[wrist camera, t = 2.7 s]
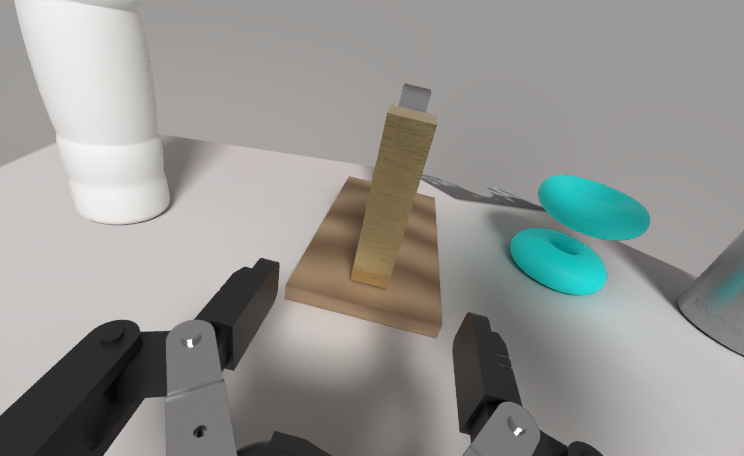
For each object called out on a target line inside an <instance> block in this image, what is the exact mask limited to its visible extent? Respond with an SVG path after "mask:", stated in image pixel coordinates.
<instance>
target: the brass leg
mask: <svg viewBox="0 0 744 456" xmlns="http://www.w3.org/2000/svg"><path fill="white" fill-rule="evenodd" d="M436 127H437V122H436V115H432V114H428V113H424V112H420V111H416V110H412V109H407V108H403V107H399V106H395V105H391V107H390V109H389V111H388V113H387V116H386V121H385V126H384V130H383V135H382V139H381V144H380V148H379V153H378V158H377V162H376V166H375V171H374V175H373V180H372V184H371V189H370V193H369V198H368V202H367V207H366V211H365V216H364V220H363V225H362V230H361V234H360V239H359V243H358V248H357V252H356V257H355V261H354V266H353V270H352V275H351V279H350V280H354V281H358V282H362V283H366V284H370V285H374V286H378V287H381V288H385V289H387V287H388V284H389V281H390V278H391V274H392V271H393V268H394V264H395V261H396V258H397V255H398V251H399V248H400V245H401V241H402V238H403V235H404V232H405V228H406V225H407V222H408V219H409V215H410V212H411V209H412V205H413V202H414V199H415V196H416V192H417V189H418V186H419V182H420V179H421V176H422V173H423V169H424V166H425V163H426V159H427V156H428V153H429V150H430V146H431V143H432V140H433V137H434V133H435V130H436Z"/></svg>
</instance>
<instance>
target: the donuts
mask: <svg viewBox="0 0 744 456" xmlns="http://www.w3.org/2000/svg"><path fill="white" fill-rule="evenodd" d="M538 197H539V201H540V203H541V205H542V206H543V208H544V209H545V210H546V211H547V212H548V213H549V214H550V215H551V216H552V217H553V218H555V219H556V220H557V221H559V222H560V223H562V224H564V225H566V226H567V227H569V228H571V229H573V230H576V231H578V232H580V233H583V234H586V235H589V236H592V237H596V238H600V239H605V240H615V241H620V240H629V239H633V238H636V237H638V236H640V235H642V234H643V233H644V232H645V231H646V230H647V229H648V227H649V224H650V216H649V214H648V212H647V210H646V209H645V208H644V207H643V206H642V205H641V204H640V203H639V202H637V201H636V200H634V199H633V198H631V197H629V196H627V195H626V194H624V193H621V192H620V191H617V190H615V189H613V188H610V187H608V186H606V185H603V184H600V183H597V182H594V181H591V180H588V179H584V178H580V177H575V176H569V175H556V176H552V177H549V178H548V179H546V180H545V181H544V182H543V183H542V184H541V186H540V187H539V191H538ZM510 250H511V255H512V257H513V259H514V261H515V262H516V263H517V265H518V266H519V267H520V268H521V269H522V270H523V271H524V272H525V273H526V274H528V275H529V276H530V277H532V278H533V279H534V280H536V281H538V282H539V283H541V284H543V285H545V286H547V287H549V288H551V289H554V290H557V291H560V292H563V293H567V294H572V295H589V294H592V293H595V292H597V291H599V290H600V289H601V288H602V287H603V286H604V285H605V282H606V279H607V272H606V268H605V266H604V264H603V262H602V260H601V259H600V257H599V256H598V255H597V254H596V253H595V252H594V251H593V250H592V249H590V248H589V247H588V246H587V245H585V244H584V243H582V242H580V241H579V240H577V239H575V238H573V237H571V236H569V235H567V234H564V233H561V232H558V231H555V230H551V229H545V228H530V229H525V230H523V231H521V232H519V233H518V234H516V235H515V236H514V238H513V239H512V241H511V245H510Z"/></svg>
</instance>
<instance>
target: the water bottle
mask: <svg viewBox="0 0 744 456" xmlns="http://www.w3.org/2000/svg"><path fill="white" fill-rule="evenodd" d="M14 1H15V6H16V11H17V15H18V20H19V23H20V27H21V31H22V35H23V39H24V42H25V46H26V49H27V52H28V56H29V59H30V63H31V66H32V69H33V72H34V75H35V78H36V81H37V85H38V87H39V90H40V93H41V96H42V99H43V101H44V104H45V107H46V110H47V112H48V115H49V117H50V119H51V122H52V124H53V126H54V128H55V130H56V142H57V148H58V152H59V155H60V158H61V161H62V163H63V166H64V168H65V169H66V171H67V173H68V176H69V184H70V190H71V194H72V198H73V201H74V204H75V207H76V209H77V211H78V212H79V214H80V215H82V216H83V217H85V218H87V219H89V220H91V221H94V222H98V223H103V224H111V225H124V224H133V223H138V222H142V221H146V220H149V219H151V218H154V217H156V216H157V215H159V214H161V213H162V212H163V211H164V210H165V209H166V208H167V207H168V205H169V202H170V196H169V189H168V184H167V179H166V176H165V173H164V155H163V148H162V143H161V140H160V137H159V135H158V133H157V110H156V99H155V90H154V83H153V75H152V68H151V62H150V56H149V50H148V45H147V39H146V35H145V30H144V26H143V22H142V18H141V14H140V10H141V6H142V0H14Z"/></svg>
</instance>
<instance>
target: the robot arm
mask: <svg viewBox="0 0 744 456" xmlns="http://www.w3.org/2000/svg"><path fill="white" fill-rule="evenodd" d="M279 266H280V265H279V262H275V261H272V260H268V259H264V258H260V259H259V260H258V261H257V263H256V264H255V265H254V267H253V268H248V267H243V268H241V269H240V270H238V271H236V272H234V273H233V274H232V275H231V276H230V278H229V279H228V280H227V281H226V283H225V284H224V285H223V286H222V287H221V288H220V290H219V291H218V292H217V293H216V294H215V295H214V297H213V298H212V299H211V300H210V301H209V302H208V304H207V305H206V306H205V307H204V308H203V310H202V311H201V312H200V313H199V314H198V315H197V317H196V318H195V319H194V320H190V321H186V322H183V323H181V324H179V325H177V326H176V327H174V328H173V329H172V330H171V331H154V332H140V329H139V326H138V325H137V324H136V323H134V322H132V321H129V320H115V321H111V322H107V323H105V324H102V325H100V326H98V327H97V328H95V329H94V330H92V331H91V332H90V333H89V334H88V335H87V336H86V337H84V338H83V339H82V340H81V341H80V342H79V343H78V344H77V345H76V346H75V347H74V348H73V349H72V350H70V351H69V352H68V353H67V354H66V355H65V356H64V357H63V358H62V359H61V360H60V361H59V362H58V363H56V364H55V365H54V366H53V367H52V368H51V369H50V370H49V371H48V372H47V373H46V374H45V375H44V376H43V377H41V378H40V379H39V380H38V381H37V382H36V383H35V384H34V385H33V386H32V387H31V388H30V389H29V390H27V391H26V392H25V393H24V394H23V395H22V396H21V397H20V398H19V399H18V400H17V401H16V402H15V403H13V404H12V405H11V406H10V407H9V408H8V409H7V410H6V411H5V412H4V413H3V414H2V415H1V416H0V456H103V455H104V454H105V452H106V451H107V450H108V448H109V447H110V446H111V444H112V443H113V441H114V440H115V439H116V437H117V436H118V435H119V433H120V432H121V430H122V429H123V428H124V426H125V425H126V423H127V422H128V421H129V419H130V418H131V417H132V415H133V414H134V412H135V411H136V410H137V408H138V407H139V406H140V404H141V403H142V401H143V400H144V399H145V398H150V397H165V396H167V397H166V399H165V415H166V456H331V455H330V454H328V453H326V452H325V451H323V450H322V449H320V448H318V447H317V446H315V445H314V444H312V443H310V442H309V441H307V440H306V439H302V438H298V437H295V436H291V435H287V434H284V433H280V432H276V431H274V434H273V436H272V439H271V441H263V442H257V443H254V444H250V445H247V446H245V447H243V448H240V449H238V450H237V451H236V446H235V440H234V434H233V429H232V423H231V417H230V411H229V405H228V400H227V394H226V388H225V383H224V379H223V378H222V371H223V370H224V368H226V369H229V370H233V371H234V370H235V368H236V366H237V364H238V363H239V361H240V359H241V358H242V356H243V354H244V353H245V351H246V349H247V348H248V346H249V344H250V342H251V341H252V339H253V337H254V336H255V334H256V332H257V331H258V329H259V327H260V325H261V324H262V322H263V320H264V319H265V317H266V315H267V314H268V312H269V310H270V309H271V307H272V305H273V303H274V301H275V299H276V296H277V291H278V280H279ZM677 304H678V306H679V308H680V310H681V311H682V312H683V314H684V315H685V316H686V317H687V318H688V319H689V320H690V321H691V322H692V323H694V324H695V325H696V326H697V327H698V328H699V329H701V330H702V331H704V332H705V333H706V334H708V335H709V336H710V337H712V338H714V339H715V340H717V341H718V342H720V343H721V344H723V345H725V346H727V347H729V348H730V349H732V350H734V351H736V352H738V353H740V354H742V355H744V230H743V231H742V232H741V233H740V234H739V235H738V236H737V238H736V239H735V240H734V241H733V242H732V243H731V244H730V245H729V246H728V247H727V248H726V249H725V250H724V251H723V252H722V253H721V254H720V255H719V256H718V257H717V259H716V260H715V261H714V262H713V263H712V264H711V265H710V266H709V267H708V268H707V269H706V270H705V271H704V272H703V273H702V274H701V275H700V276H699V277H698V278H697V279H696V280H695V281H694V282H693V284H692V285H691V286H690V287H689V288H688V289H687V290H686V291H685V292H684V293H683V294H682V295H681V296H680V297H679V298H678V300H677ZM453 363H454V374H455V385H456V396H457V407H458V419H459V430H460V432H461V433H465V434H468V435H470V438H471V444H470V446H469V447H468V449H467V450H466V451H465V453H464V454H463V456H603V455H602V454H601V453H600V452H599V451H597V450H596V449H595V448H593V447H592V446H590V445H588V444H586V443H584V442H579V441H576V442H573V443H571V444H570V445H569V446H568V447H567V446H566V445H564V444H562V443H560V442H559V441H557V440H555V439H554V438H552V437H550V436H548V435H547V434H545V433H544V432H542V431H541V430H540V429H539V427H538V424H537V422H536V421H535V419H534V418H533V416H532V415H531V414H530V413H529V412H528V411H527V410H526V409H525V408H523V406H522V403H521V399H520V395H519V392H518V388H517V384H516V381H515V377H514V373H513V370H512V369H511V367H512V366H511V362H510V359H509V355H508V351H507V347H506V344H505V343H504V341H503V340H502V338H501V337H500V335H499V334H498V333H496V332H492V331H491V328H490V323H489V320H488V318H487V317H485V316H481V315H478V314H474V313H470V312H469V313H467V314H466V316H465V318H464V320H463V322H462V324H461V326H460V328H459V330H458V332H457V334H456V336H455V338H454V342H453Z"/></svg>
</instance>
